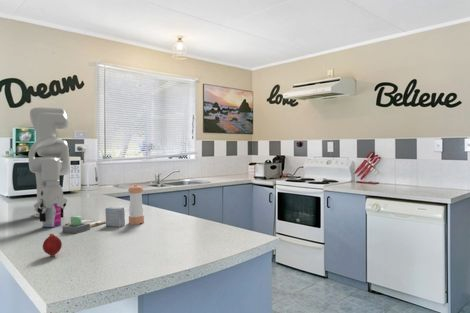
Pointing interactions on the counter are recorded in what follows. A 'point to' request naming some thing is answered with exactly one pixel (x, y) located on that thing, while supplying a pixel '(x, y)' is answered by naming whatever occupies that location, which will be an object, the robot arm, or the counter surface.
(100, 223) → the wooden picture frame
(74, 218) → the button
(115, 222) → the medicine box
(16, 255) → the counter surface
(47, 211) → the supplement box
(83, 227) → the button box
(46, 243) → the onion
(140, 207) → the pepper shaker
